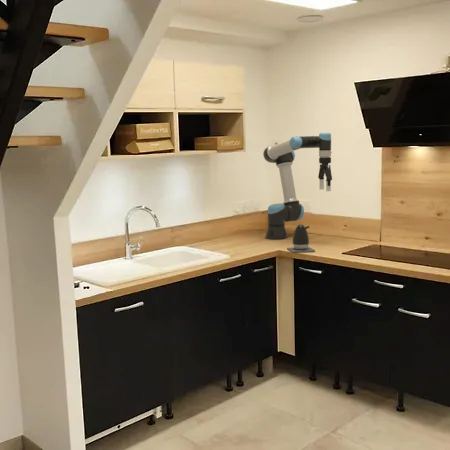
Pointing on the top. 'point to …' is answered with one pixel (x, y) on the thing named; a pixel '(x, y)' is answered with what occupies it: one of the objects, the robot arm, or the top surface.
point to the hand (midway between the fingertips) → (324, 190)
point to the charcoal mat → (300, 250)
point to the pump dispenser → (300, 237)
